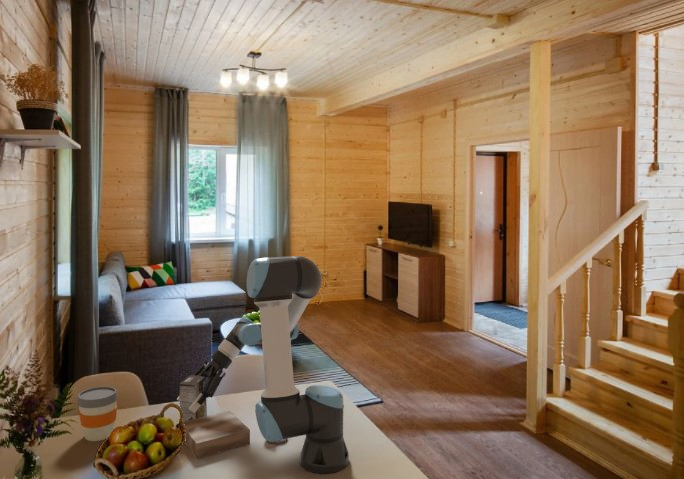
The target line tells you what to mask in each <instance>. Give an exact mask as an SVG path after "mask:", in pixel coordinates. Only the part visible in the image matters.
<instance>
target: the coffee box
mask: <svg viewBox="0 0 684 479" xmlns="http://www.w3.org/2000/svg"><path fill="white" fill-rule="evenodd" d="M206 379H207V377H206V376H196V375H192V374H189V376H187V377H186V378H184V379H183V380H182V381H181V382H180V383H178V384H179V385H178V388H179V390H178V391H179V395H178V397H180V401H179V408H180V407H181V409H182V411H183V421H188V420H192V419H196V418H200V417H205V416H208V407H207V398H206V399H205V401H204V402H203V403H202V404H201V406H200V407H199V408H198V410H197V411H196V412H195V413H193V412H192V411H191V410H189V407H190V406H191V405H192V403H193V402H194V401H195V400H196V398H197V397H198V396H199V394H200V393H201V392H202V391H203V390H204V388H205V385H206V383H207V380H206ZM201 394H202V393H201Z"/></svg>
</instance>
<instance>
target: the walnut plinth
mask: <svg viewBox="0 0 684 479" xmlns="http://www.w3.org/2000/svg"><path fill="white" fill-rule="evenodd" d="M183 422H184V424H185V426H186V441H185V442H184V443H186V444H185V445H186V446H187V448H188V449H189V451H190V452H191V453H192V454H193V456H194V457H195V458H196V459H197V460H198V459H200V458H205V457H208V456H211V455H215V454H219V453H224V452H227V451H229V450H233V449H237V448H241V447H245V446H247V445H250V444H251V429H250V428H249V427H248V426H246V424H245V423H244V422H242V420H241V419H239V418H238V417H237V416H236V415H235V414H234V413H233V412H232V411H231V410H227V411H221V412H219V413H214V414H210V415H207V416H205V417H200V418H196V419H192V420H188V421H183Z"/></svg>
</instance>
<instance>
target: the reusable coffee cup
mask: <svg viewBox="0 0 684 479" xmlns="http://www.w3.org/2000/svg"><path fill="white" fill-rule="evenodd" d="M117 400H118V392H117V388H115V387H113V386H97V387H90V388H88V389H85V390H83V391H80V392H79V393H78V395H77V402H76V403H77V406H78V409H79V411H78V416H79V421H80V425H81V426H82V428H83V434H84V439H85V440H86V441H88V442H99V441H104V440H106V439H105V438H106V437H107V436H108V435H109V434H110V433H111V432H112V431H113V429H114V428H115V421H116V419H117V413H118V412H117V410H118V404H117ZM114 430H115V429H114Z"/></svg>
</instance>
